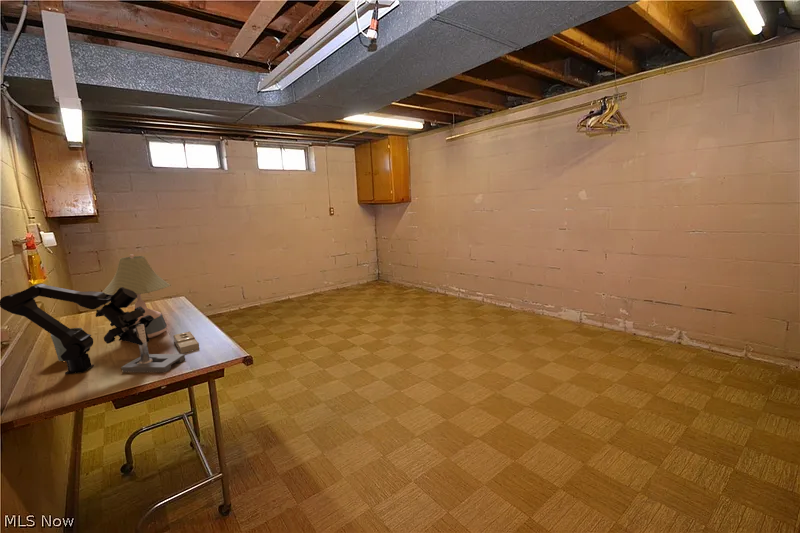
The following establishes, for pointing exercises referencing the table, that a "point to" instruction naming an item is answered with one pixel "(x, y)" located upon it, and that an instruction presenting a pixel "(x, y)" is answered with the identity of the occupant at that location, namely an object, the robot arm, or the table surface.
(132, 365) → the keyhole plate
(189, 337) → the electrical outlet
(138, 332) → the steel post
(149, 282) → the desk lamp
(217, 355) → the table surface
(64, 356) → the robot arm
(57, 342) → the drinking glass
